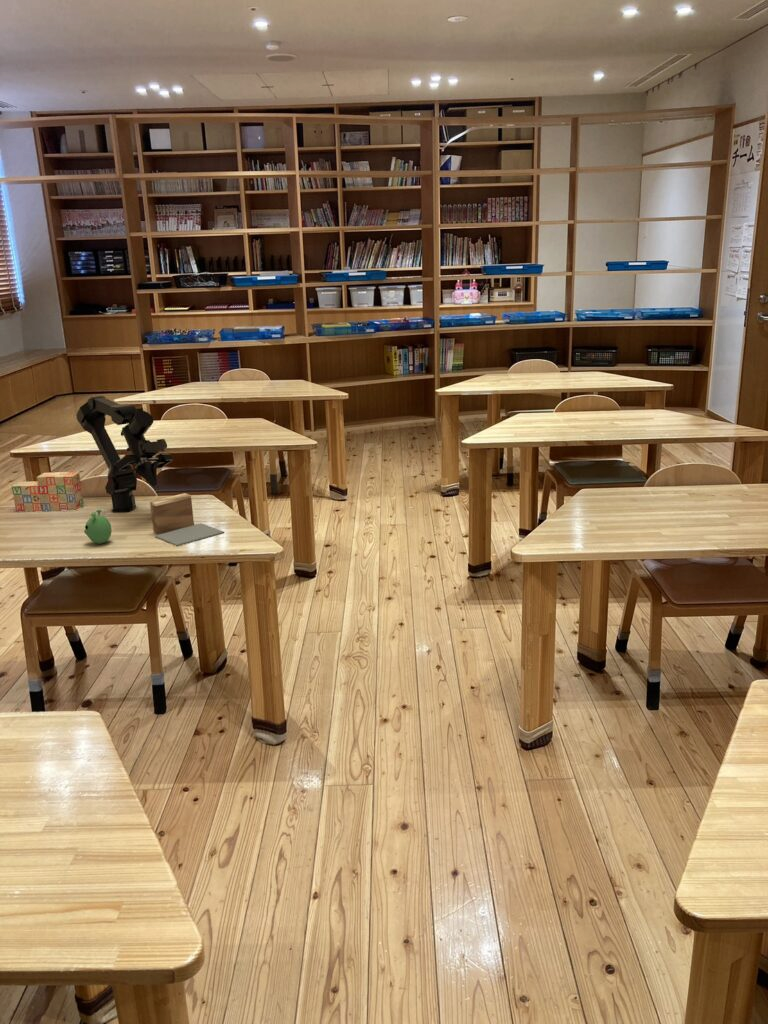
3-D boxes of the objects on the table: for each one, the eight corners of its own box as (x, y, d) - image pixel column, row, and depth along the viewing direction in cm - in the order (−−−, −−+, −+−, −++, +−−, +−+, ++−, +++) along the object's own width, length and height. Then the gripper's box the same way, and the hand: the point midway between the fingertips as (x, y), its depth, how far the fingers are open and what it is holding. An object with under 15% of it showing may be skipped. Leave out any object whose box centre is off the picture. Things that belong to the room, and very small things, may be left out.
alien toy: (91, 539, 242) (86, 507, 240) (116, 539, 242) (112, 507, 239) (82, 547, 236) (77, 514, 233) (108, 546, 235) (103, 513, 232)
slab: (153, 532, 247) (149, 501, 244) (188, 523, 255) (185, 493, 252) (159, 535, 244) (155, 503, 241) (194, 526, 252) (190, 495, 249)
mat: (154, 537, 242) (154, 535, 242) (201, 524, 253) (201, 523, 253) (177, 546, 233) (176, 544, 233) (224, 533, 244) (224, 531, 244)
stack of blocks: (15, 512, 274) (9, 477, 271) (24, 507, 280) (18, 473, 277) (77, 511, 274) (72, 475, 270) (84, 505, 280) (79, 471, 276)
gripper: (129, 429, 243) (149, 475, 241) (174, 429, 260) (192, 472, 257) (107, 446, 249) (126, 492, 246) (152, 445, 265) (170, 488, 263)
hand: (155, 485), depth 253 cm, fingers closed
